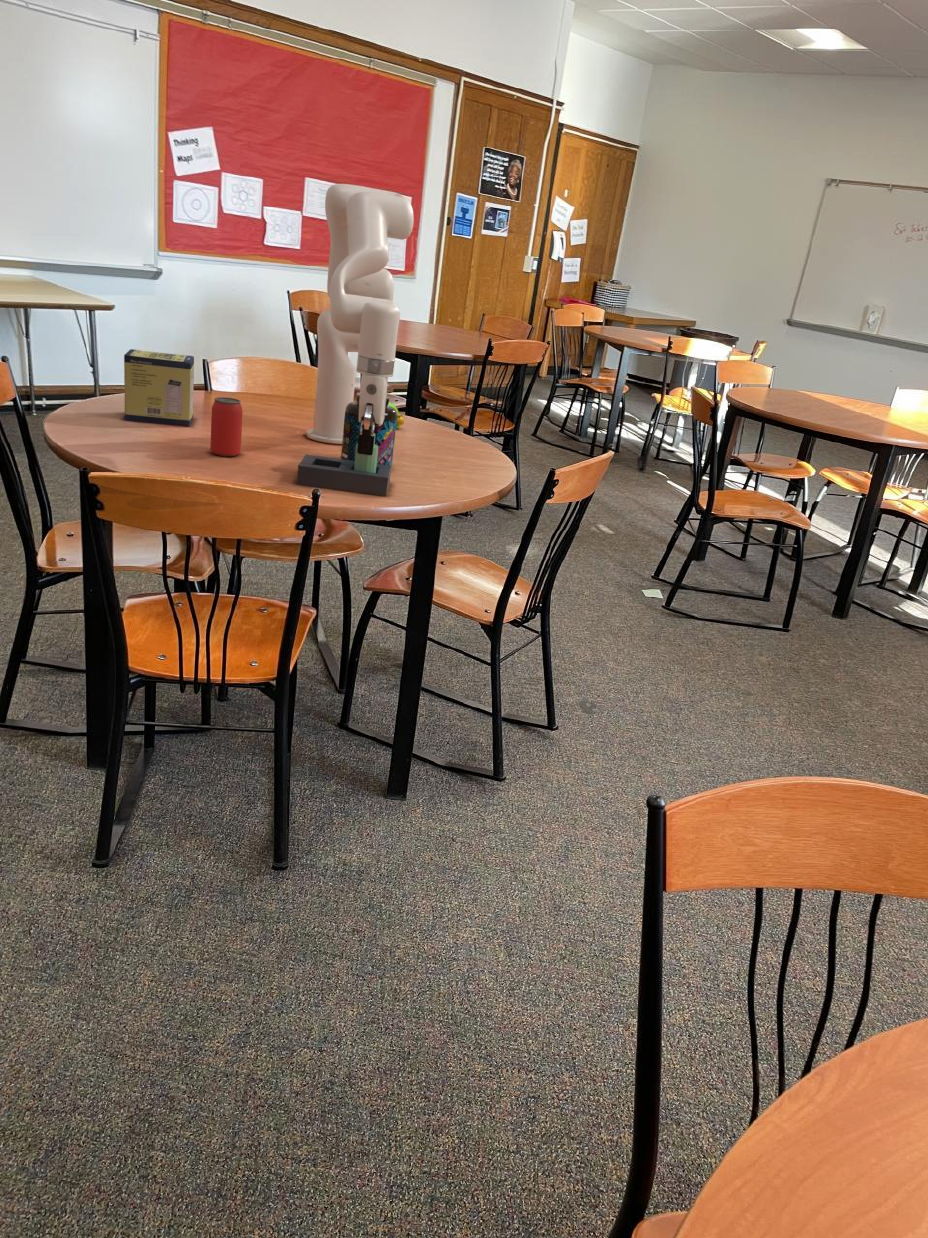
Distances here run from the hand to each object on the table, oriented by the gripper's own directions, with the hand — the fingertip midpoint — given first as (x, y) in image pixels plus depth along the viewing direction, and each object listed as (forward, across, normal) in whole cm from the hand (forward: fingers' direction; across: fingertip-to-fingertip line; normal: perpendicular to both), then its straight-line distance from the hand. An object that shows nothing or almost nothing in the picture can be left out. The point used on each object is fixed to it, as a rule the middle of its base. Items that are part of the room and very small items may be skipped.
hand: (366, 448), depth 189 cm
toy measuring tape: (+9, +70, +3) cm, 70 cm away
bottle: (+8, 0, 0) cm, 8 cm away
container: (+8, +19, +1) cm, 21 cm away
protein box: (+9, +37, +54) cm, 66 cm away
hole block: (+8, 0, +4) cm, 9 cm away
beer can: (+8, +12, +32) cm, 35 cm away
